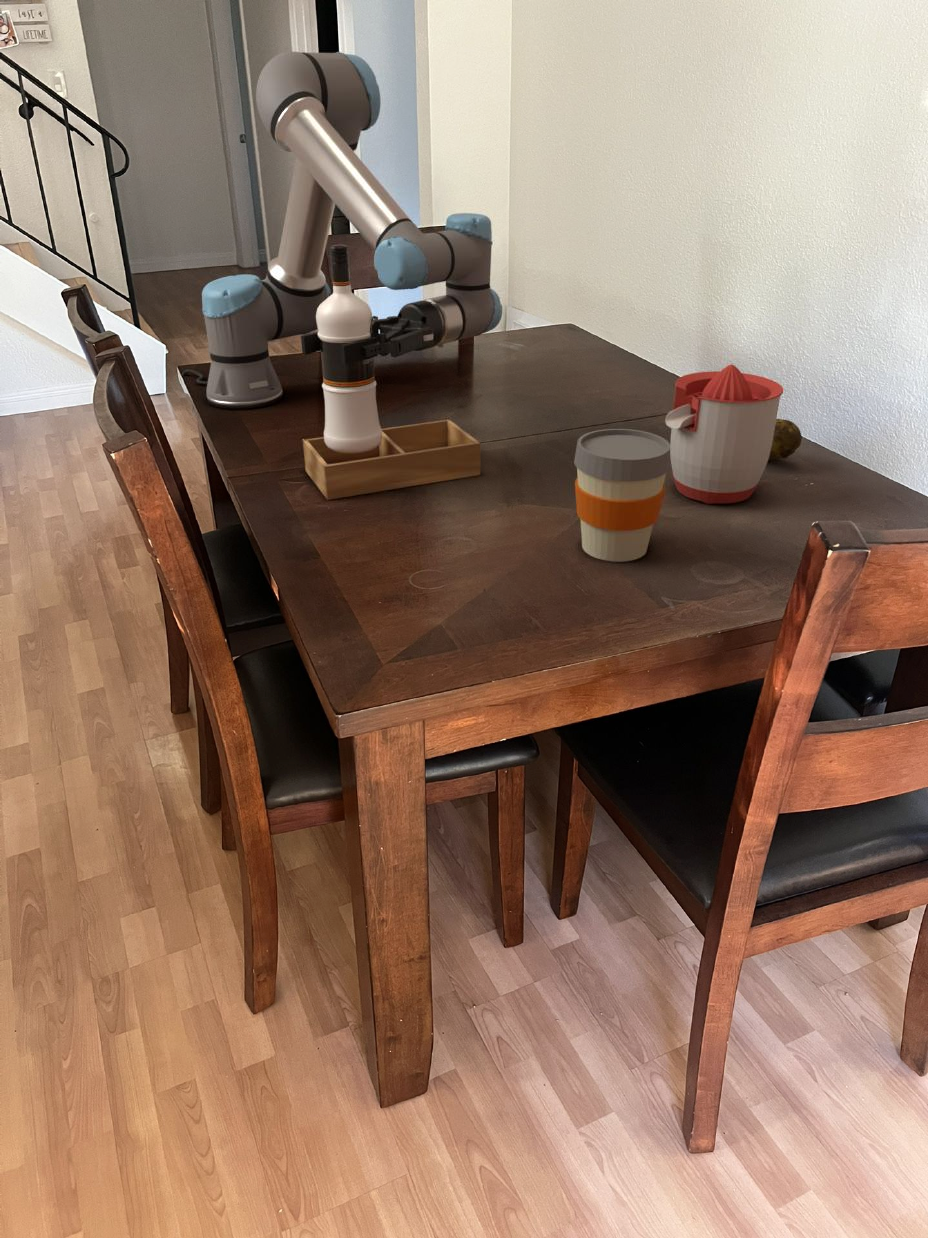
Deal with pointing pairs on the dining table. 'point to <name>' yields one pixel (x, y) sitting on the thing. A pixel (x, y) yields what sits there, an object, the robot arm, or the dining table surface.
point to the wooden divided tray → (394, 460)
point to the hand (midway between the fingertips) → (322, 349)
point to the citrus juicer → (721, 433)
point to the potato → (785, 439)
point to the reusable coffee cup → (619, 490)
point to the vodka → (347, 365)
